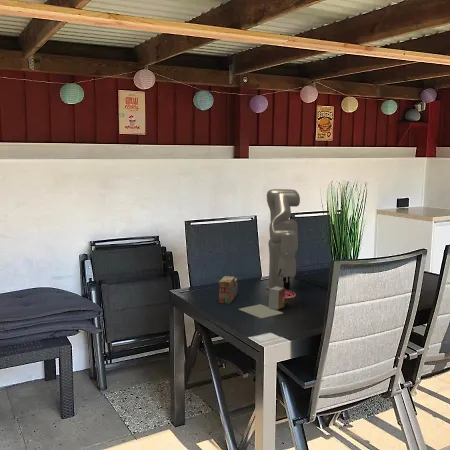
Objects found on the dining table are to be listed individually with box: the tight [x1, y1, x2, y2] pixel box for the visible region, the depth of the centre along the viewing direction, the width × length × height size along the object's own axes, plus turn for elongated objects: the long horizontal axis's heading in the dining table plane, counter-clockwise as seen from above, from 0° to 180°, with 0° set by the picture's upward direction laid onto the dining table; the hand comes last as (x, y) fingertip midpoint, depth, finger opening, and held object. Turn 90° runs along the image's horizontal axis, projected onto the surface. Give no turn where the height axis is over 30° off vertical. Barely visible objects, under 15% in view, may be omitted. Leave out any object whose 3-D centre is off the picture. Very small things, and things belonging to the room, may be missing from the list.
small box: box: [268, 286, 286, 311], centre depth 265 cm, size 8×6×10 cm
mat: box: [238, 303, 284, 320], centre depth 259 cm, size 15×18×1 cm
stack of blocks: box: [218, 275, 239, 305], centre depth 281 cm, size 21×6×12 cm, turn 167°
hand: (286, 289), depth 268 cm, fingers closed
